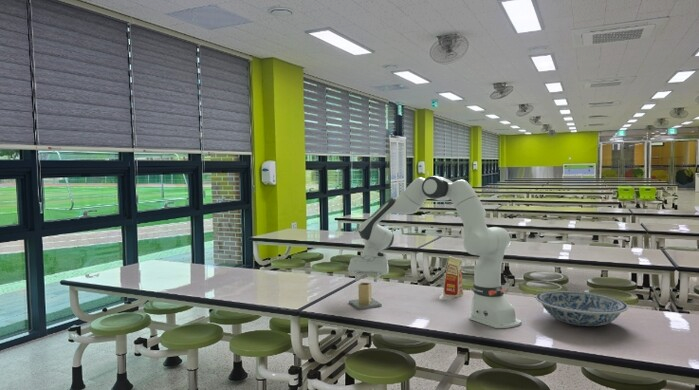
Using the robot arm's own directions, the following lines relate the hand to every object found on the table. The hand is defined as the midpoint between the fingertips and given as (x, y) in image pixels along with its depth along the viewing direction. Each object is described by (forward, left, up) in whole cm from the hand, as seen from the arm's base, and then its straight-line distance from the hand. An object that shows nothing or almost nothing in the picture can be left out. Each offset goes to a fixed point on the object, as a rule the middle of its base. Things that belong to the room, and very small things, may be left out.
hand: (366, 280), depth 225 cm
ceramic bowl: (-65, -69, -11) cm, 95 cm away
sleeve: (-2, +1, -10) cm, 10 cm away
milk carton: (-6, -48, -11) cm, 49 cm away
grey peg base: (-2, +1, -11) cm, 11 cm away
